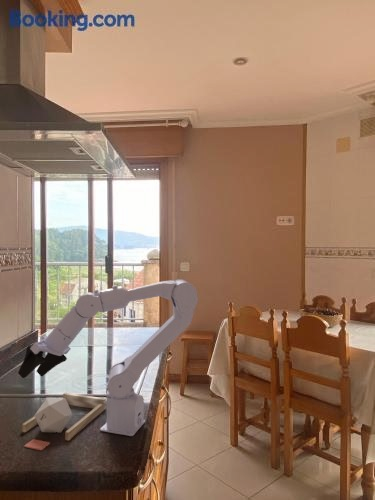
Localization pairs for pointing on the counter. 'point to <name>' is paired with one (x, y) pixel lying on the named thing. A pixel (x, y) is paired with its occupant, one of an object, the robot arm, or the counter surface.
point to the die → (53, 415)
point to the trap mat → (37, 444)
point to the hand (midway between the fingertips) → (30, 374)
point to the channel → (76, 400)
